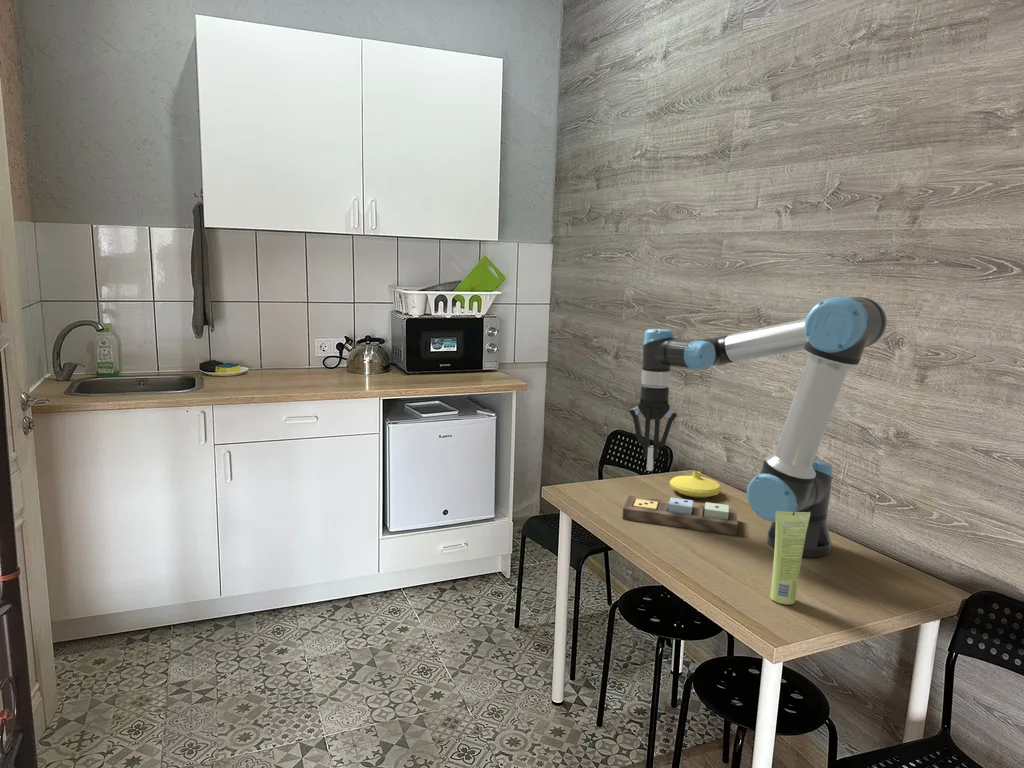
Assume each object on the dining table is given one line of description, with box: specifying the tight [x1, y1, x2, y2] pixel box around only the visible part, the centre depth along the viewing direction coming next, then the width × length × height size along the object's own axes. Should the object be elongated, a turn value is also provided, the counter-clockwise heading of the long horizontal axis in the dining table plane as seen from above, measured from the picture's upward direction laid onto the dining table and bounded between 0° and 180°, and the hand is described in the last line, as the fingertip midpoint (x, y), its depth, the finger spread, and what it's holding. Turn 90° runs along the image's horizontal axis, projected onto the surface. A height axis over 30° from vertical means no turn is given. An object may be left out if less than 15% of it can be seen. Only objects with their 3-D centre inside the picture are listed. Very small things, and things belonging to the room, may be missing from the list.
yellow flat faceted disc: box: [669, 470, 722, 499], centre depth 214 cm, size 16×16×7 cm
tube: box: [769, 511, 810, 606], centre depth 144 cm, size 6×5×20 cm
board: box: [622, 495, 739, 536], centre depth 190 cm, size 30×12×3 cm, turn 73°
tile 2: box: [668, 497, 694, 515], centre depth 190 cm, size 6×6×3 cm
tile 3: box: [633, 499, 658, 510], centre depth 193 cm, size 6×6×3 cm
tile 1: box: [704, 501, 730, 520], centre depth 187 cm, size 6×6×3 cm
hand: (649, 469), depth 191 cm, fingers closed
